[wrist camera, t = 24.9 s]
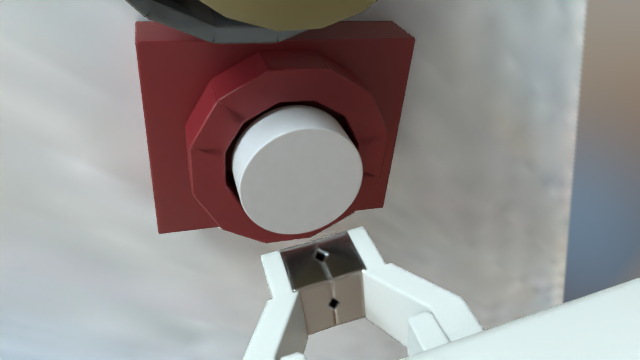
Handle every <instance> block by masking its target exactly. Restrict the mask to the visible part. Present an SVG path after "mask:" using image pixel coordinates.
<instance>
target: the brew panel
mask: <svg viewBox="0 0 640 360" xmlns="http://www.w3.org/2000/svg"><path fill="white" fill-rule="evenodd" d="M135 44H136V52H137V60H138V69H139V77H140V85H141V93H142V102H143V110H144V118H145V126H146V135H147V143H148V151H149V159H150V168H151V176H152V184H153V192H154V201H155V209H156V217H157V225H158V233H159V234H162V233H171V232H179V231H188V230H196V229H205V228H213V227H220V228H222V229H223V230H226V231H229V232H232V233H235V234H238V235H241V236H244V237H248V238H251V239H254V240H257V241H260V242H263V243H264V242H265V243H271V242H279V241H286V240H294V239H302V238H309V237H311V236H314V235H316V234H317V233H319V232H321V231H323V230H324V229H326V228H328V227H330V226H331V225H333V224H335V223H337V222H338V221H340V220H342V219H344V218H346V217H347V216H349V215H351V214H352V213H354V212H355V211H357V210H366V209H374V208H382V207H383V205H384V200H385V194H386V189H387V184H388V179H389V174H390V168H391V163H392V158H393V153H394V148H395V142H396V137H397V132H398V127H399V122H400V116H401V111H402V106H403V101H404V96H405V90H406V85H407V80H408V75H409V70H410V64H411V59H412V54H413V49H414V44H415V38H414V37H413V36H411V35H410V34H409V33H407V32H406V31H405V30H403V29H402V28H401V27H399V26H398V25H397V24H395V23H394V22H393V21H339V22H337V23H334V24H332V25H329V26H327V27H324V28H321V29H310V30H308V31H305V32H303V33H300V34H298V35H296V36H293V37H291V38H289V39H286V40H284V41H282V42H277V43H236V44H215V43H210V42H207V41H204V40H202V39H199V38H197V37H194V36H191V35H189V34H186V33H184V32H181V31H178V30H176V29H173V28H170V27H168V26H165V25H163V24H160V23H157V22H136V23H135ZM290 105H305V106H311V107H315V108H318V109H321V110H323V111H325V112H327V113H328V114H330V115H331V116H332V117H333V118H335V119H336V120H337V122H338V123H339V124H340V125H341V127H342V128H343V130H344V131H345V133H346V134H347V135H348V137H349V138H350V140H351V141H352V143H353V144H354V146H355V147H356V149H357V150H358V152H359V154H360V157H361V160H362V164H363V178H362V183H361V186H360V189H359V192H358V194H357V196H356V198H355V199H354V201H353V202H352V204H351V205H350V206H349V207H348V209H347V210H346V211H345V212H344V213H343V214H342V215H340V216H339V217H338V218H337V219H335V220H334V221H332V222H331V223H329V224H327V225H325V226H323V227H321V228H319V229H316V230H314V231H310V232H306V233H301V234H280V233H275V232H271V231H269V230H266V229H264V228H262V227H260V226H259V225H257V224H256V223H255V222H253V221H252V220H251V219H250V218H249V216H248V215H247V214H246V212H245V211H244V209H243V207H242V204H241V201H240V198H239V194H238V190H237V187H236V183H235V180H234V176H233V172H232V155H233V151H234V148H235V145H236V143H237V141H238V139H239V137H240V136H241V134H242V133H243V131H244V130H245V129H246V128H247V127H248V126H249V125H250V124H251V123H252V122H253V121H254V120H255V119H257V118H258V117H260V116H261V115H263V114H265V113H267V112H269V111H271V110H274V109H276V108H280V107H284V106H290Z"/></svg>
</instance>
